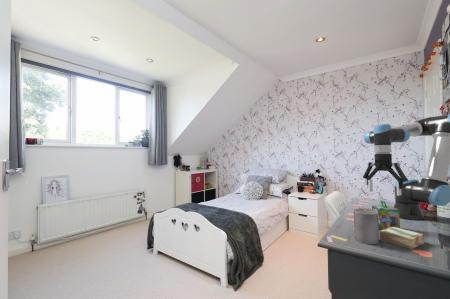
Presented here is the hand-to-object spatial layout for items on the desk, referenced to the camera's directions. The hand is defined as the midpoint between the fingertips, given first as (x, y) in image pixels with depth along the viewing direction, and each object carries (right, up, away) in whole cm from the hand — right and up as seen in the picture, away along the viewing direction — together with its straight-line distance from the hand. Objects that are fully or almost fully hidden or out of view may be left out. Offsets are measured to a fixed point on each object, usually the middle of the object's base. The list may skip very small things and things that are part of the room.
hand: (384, 193), depth 116 cm
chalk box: (0, -19, -1) cm, 19 cm away
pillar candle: (-19, -19, -15) cm, 31 cm away
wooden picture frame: (-4, -18, -17) cm, 25 cm away
